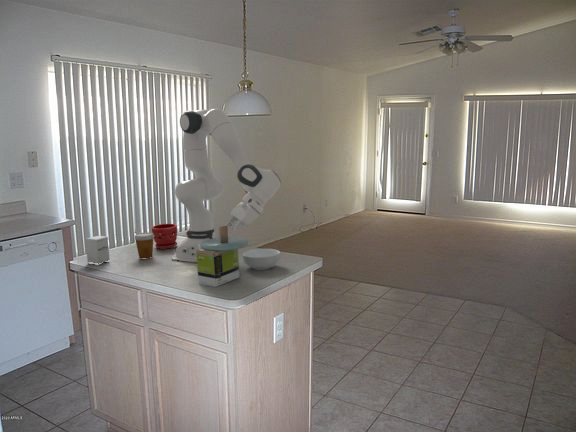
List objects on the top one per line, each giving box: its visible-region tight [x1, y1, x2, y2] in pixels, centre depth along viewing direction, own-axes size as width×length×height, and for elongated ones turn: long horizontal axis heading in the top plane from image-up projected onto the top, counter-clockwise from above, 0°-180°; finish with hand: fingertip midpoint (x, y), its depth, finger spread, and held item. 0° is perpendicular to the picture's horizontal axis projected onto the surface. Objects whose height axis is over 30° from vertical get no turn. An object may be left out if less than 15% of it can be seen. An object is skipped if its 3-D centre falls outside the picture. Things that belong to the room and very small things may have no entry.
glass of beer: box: [133, 232, 154, 259], centre depth 244 cm, size 10×10×12 cm
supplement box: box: [85, 235, 110, 264], centre depth 236 cm, size 7×7×13 cm
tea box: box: [196, 248, 240, 288], centre depth 203 cm, size 15×10×15 cm
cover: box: [200, 224, 250, 251], centre depth 204 cm, size 20×20×8 cm
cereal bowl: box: [242, 248, 281, 271], centre depth 222 cm, size 17×17×7 cm
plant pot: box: [151, 223, 178, 250], centre depth 265 cm, size 13×13×12 cm
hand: (230, 228), depth 205 cm, fingers open, 8 cm apart
